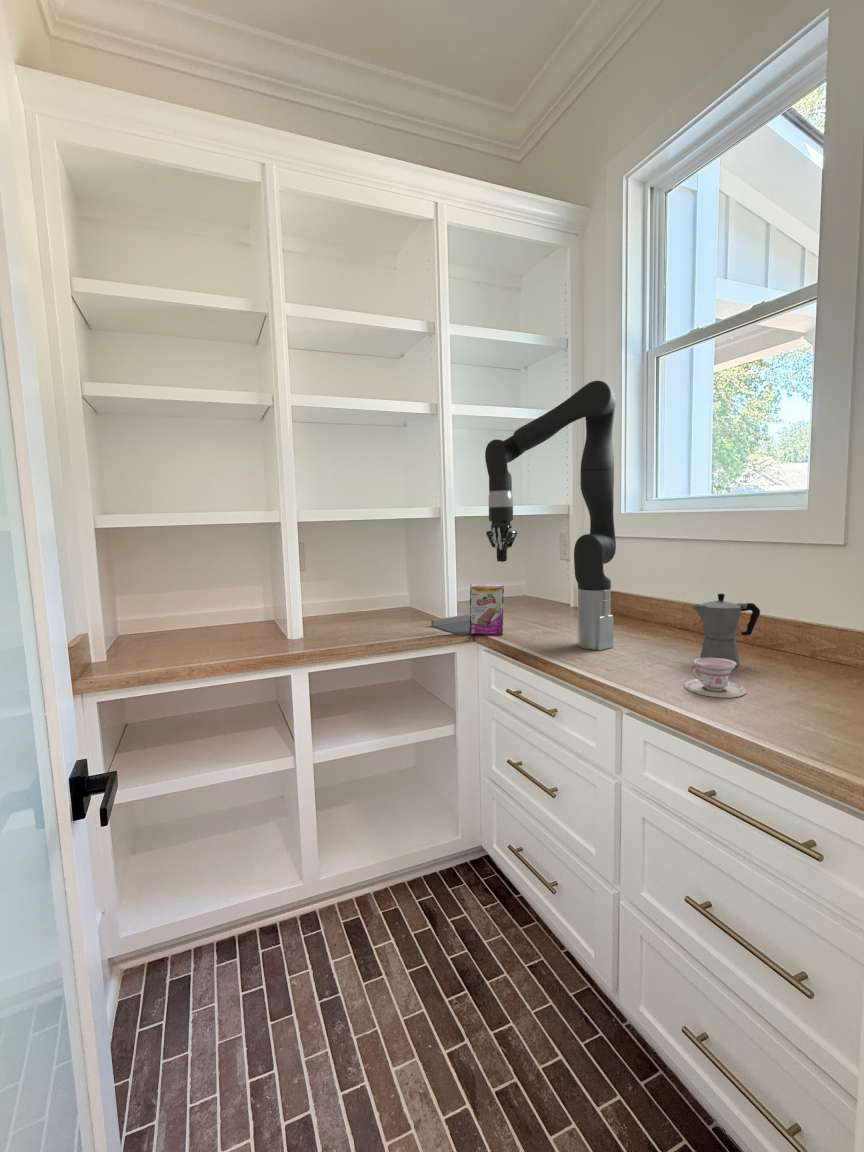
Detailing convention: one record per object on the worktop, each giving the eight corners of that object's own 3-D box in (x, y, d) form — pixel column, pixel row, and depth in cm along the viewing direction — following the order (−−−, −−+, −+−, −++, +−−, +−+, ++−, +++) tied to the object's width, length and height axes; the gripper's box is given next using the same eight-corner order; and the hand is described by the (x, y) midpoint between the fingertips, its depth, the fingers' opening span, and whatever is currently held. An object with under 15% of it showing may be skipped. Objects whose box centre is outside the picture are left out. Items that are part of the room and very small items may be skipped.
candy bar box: (469, 635, 175) (469, 586, 173) (469, 631, 180) (470, 583, 178) (503, 635, 174) (504, 586, 172) (502, 631, 179) (503, 584, 177)
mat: (499, 629, 184) (499, 622, 184) (461, 635, 176) (461, 628, 176) (467, 620, 201) (467, 614, 200) (431, 626, 192) (431, 619, 192)
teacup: (725, 680, 122) (725, 654, 122) (758, 697, 111) (759, 669, 110) (674, 682, 122) (674, 656, 121) (702, 700, 110) (702, 671, 109)
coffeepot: (694, 667, 133) (696, 596, 131) (687, 657, 142) (688, 590, 140) (764, 669, 129) (767, 596, 127) (752, 659, 138) (754, 591, 136)
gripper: (524, 504, 161) (525, 561, 163) (497, 506, 173) (498, 559, 174) (504, 505, 157) (505, 563, 159) (478, 506, 169) (479, 561, 171)
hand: (501, 561), depth 167 cm, fingers closed
